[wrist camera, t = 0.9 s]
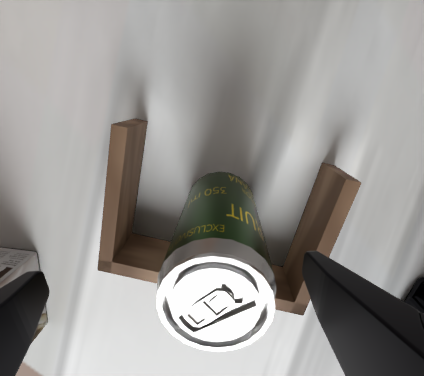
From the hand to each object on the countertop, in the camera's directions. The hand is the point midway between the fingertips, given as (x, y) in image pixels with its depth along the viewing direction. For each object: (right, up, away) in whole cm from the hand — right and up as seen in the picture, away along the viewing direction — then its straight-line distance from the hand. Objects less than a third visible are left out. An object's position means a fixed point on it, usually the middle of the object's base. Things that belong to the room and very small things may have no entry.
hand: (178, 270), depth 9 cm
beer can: (+2, +2, +13) cm, 14 cm away
